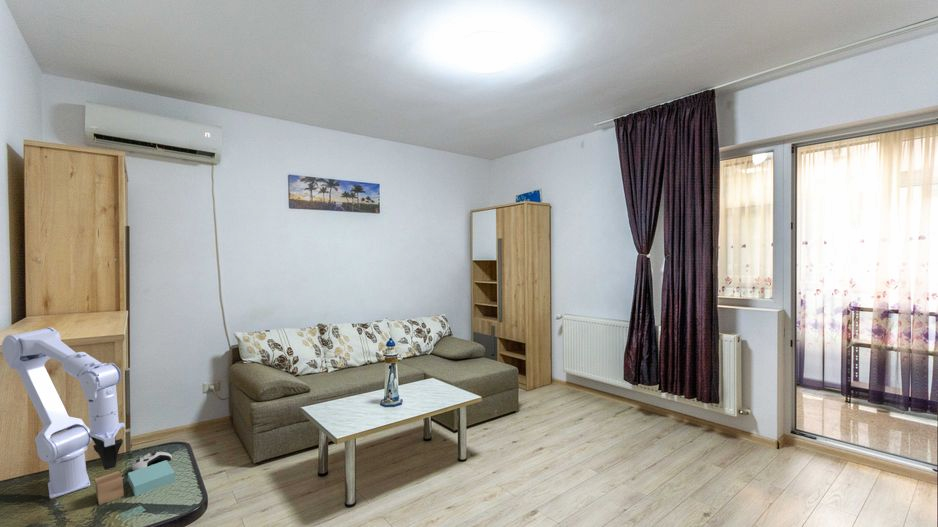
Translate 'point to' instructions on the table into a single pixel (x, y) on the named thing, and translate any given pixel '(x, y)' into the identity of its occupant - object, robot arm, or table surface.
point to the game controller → (150, 459)
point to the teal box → (151, 477)
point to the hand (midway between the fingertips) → (107, 462)
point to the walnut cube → (109, 487)
